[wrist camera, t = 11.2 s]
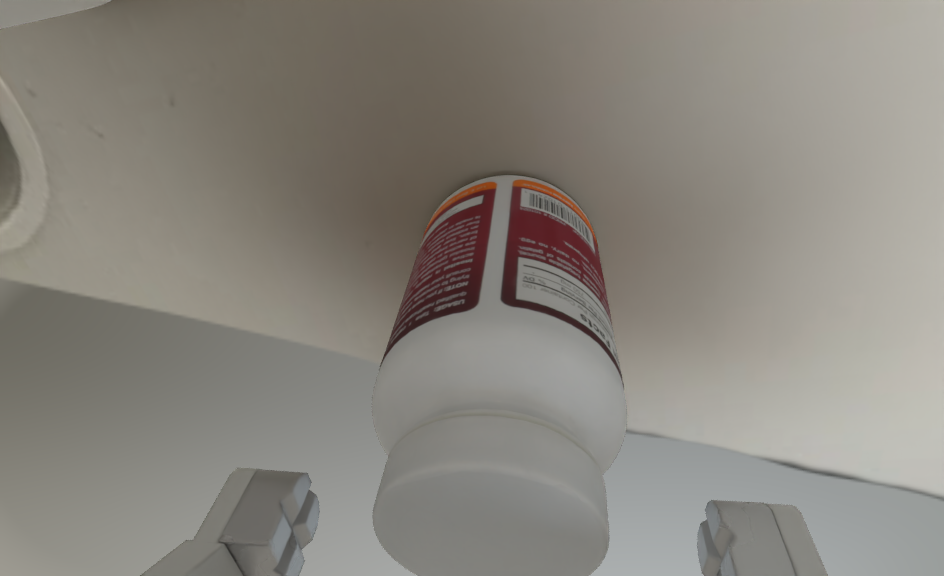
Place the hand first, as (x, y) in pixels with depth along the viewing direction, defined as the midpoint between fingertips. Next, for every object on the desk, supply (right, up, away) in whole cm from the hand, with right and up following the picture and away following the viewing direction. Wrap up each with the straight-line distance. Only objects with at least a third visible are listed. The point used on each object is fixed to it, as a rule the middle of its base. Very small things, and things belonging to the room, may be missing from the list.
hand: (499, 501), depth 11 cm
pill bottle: (+1, +6, +8) cm, 10 cm away
